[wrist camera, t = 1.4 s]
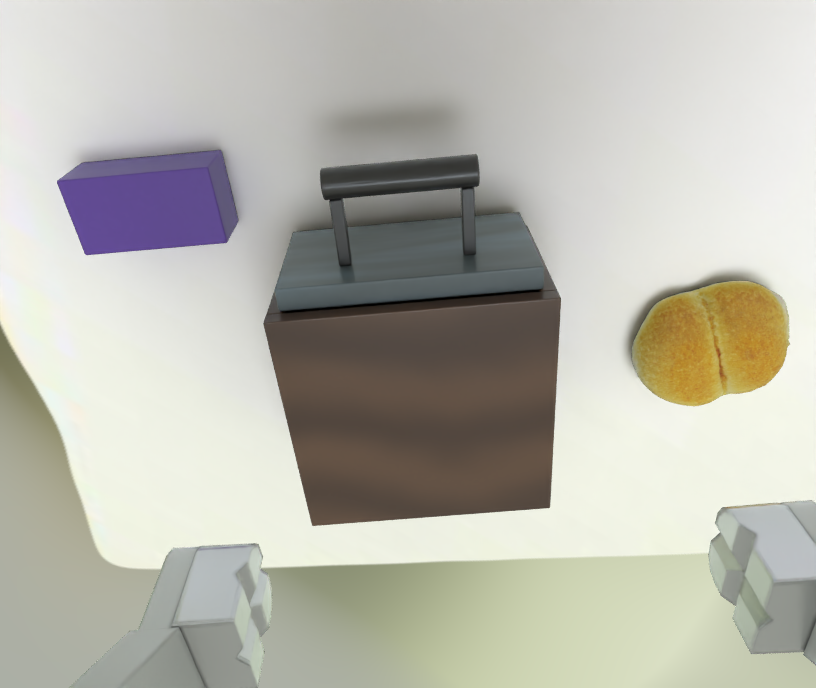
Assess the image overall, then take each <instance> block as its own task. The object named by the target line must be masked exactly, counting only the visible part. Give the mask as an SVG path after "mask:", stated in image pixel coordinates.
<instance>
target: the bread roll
mask: <svg viewBox="0 0 816 688" xmlns="http://www.w3.org/2000/svg"><path fill="white" fill-rule="evenodd" d="M788 339H789V315H788V311H787V306H786V303H785V301H784V299H783V298H782V297H781V296H780V295H779V294H777V293H775V292H773V291H770V290H769V289H767V288H765V287H764V286H762V285H759V284H756V283H753V282H749V281H727V282H721V283H716V284H712V285H709V286H707V287H702V288H699V289H697V290H694V291H690V292H683V293H679V294H676V295H673V296H670V297H668V298H665V299H663V300H661V301H659V302H658V303H656V304H655V305H654V306H653V308H652V309H651V310H650V311H649V313H648V315H647V317H646V318H645V320H644V322H643V323H642V325H641V327H640V329H639V331H638V333H637V336H636V338H635V340H634V343H633V347H632V361H633V365H634V368H635V370H636V372H637V375H638V377H639V378H640V380H641V381H642V382H643V384H644V385H645V386H646V387H647V388H648V389H649V390H650V391H651V392H652V393H654V394H655V395H657V396H658V397H660V398H662V399H664V400H666V401H669V402H672V403H676V404H681V405H687V406H699V405H704V404H707V403H710V402H712V401H714V400H716V399H717V398H719V397H720V396H723V395H726V394H739V393H745V392H751V391H753V390H755V389H757V388H760V387H762V386H765V385H766V384H767V383H768V382H769V381H771V380H772V379H773V378H774V376H775V375H776V374H777V373H778V372H779V370H780V369H781V367H782V366H783V363H784V360H785V357H786V351H787V347H788V346H789V344H790V343H789V340H788Z"/></svg>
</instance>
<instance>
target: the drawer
mask: <svg viewBox="0 0 816 688" xmlns="http://www.w3.org/2000/svg"><path fill="white" fill-rule="evenodd" d="M320 182H321V189H322V194H323V198H324V199H325V200H330V201H329V203H330V210H331V216H332V222H333V229H323V230H311V231H300V232H293V235H292V238H291V241H290V244H289V247H288V250H287V253H286V256H285V259H284V262H283V265H282V269H281V272H280V275H279V278H278V281H277V284H276V287H275V290H274V291H275V295H276V300H277V304H278V309H279V311H290V310H302V309H305V311H304V312H307V311H319V310H331V309H343V308H354V307H366V306H378V305H390V304H402V303H413V302H425V301H437V300H449V299H461V298H473V297H484V296H496V295H508V294H520V292H519V291H526V290H538V289H543V288H544V265H543V263H542V261H541V259H540V257H539V255H538V252H537V250H536V248H535V246H534V244H533V242H532V239H531V237H530V235H529V233H528V231H527V228H526V226H525V224H524V222H523V220H522V218H521V215H520V213H519V212H516V213H504V214H493V215H481V216H475V193H474V187H477V186H479V161H478V156H477V155H476V154H472V155H461V156H450V157H439V158H428V159H417V160H406V161H395V162H384V163H373V164H362V165H351V166H340V167H329V168H321V170H320ZM454 188H460V194H461V217H459V218H447V219H436V220H425V221H413V222H402V223H391V224H379V225H368V226H357V227H347V221H346V214H345V207H344V201H343V198H353V197H365V196H376V195H387V194H398V193H409V192H421V191H432V190H443V189H454Z"/></svg>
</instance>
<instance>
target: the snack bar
mask: <svg viewBox="0 0 816 688" xmlns="http://www.w3.org/2000/svg"><path fill="white" fill-rule="evenodd" d="M57 184H58V186H59V189H60V191H61V194H62V196H63V199H64V201H65V204H66V207H67V209H68V212H69V214H70V217H71V219H72V222H73V224H74V227H75V230H76V232H77V235H78V237H79V240H80V242H81V245H82V247H83V250H84V253H85V255H94V254H105V253H116V252H128V251H139V250H150V249H162V248H173V247H185V246H196V245H207V244H219V243H227V242H228V240H229V238H230V236H231V234H232V232H233V230H234V228H235V227H236V225H237V223H238V217H237V213H236V209H235V205H234V201H233V196H232V192H231V188H230V184H229V180H228V176H227V172H226V167H225V163H224V159H223V155H222V152H221V151H220V150H216V151H206V152H195V153H184V154H173V155H162V156H151V157H140V158H129V159H118V160H108V161H97V162H86V163H81V164H79V165H78V166H77V167H75V168H74V169H73V170H71V171H70V172H69V173H67V174H66V175H65V176H63V177H62V178H60V179H59V180H58V181H57Z"/></svg>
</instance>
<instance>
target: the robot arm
mask: <svg viewBox="0 0 816 688" xmlns="http://www.w3.org/2000/svg"><path fill="white" fill-rule="evenodd" d="M715 524H716V525H717V527H718V529H719V531H720V533H719V534H718V535H717V536H716V537H715V538H714V539H712V540H711V543H710V549H709V554H708V555H709V563H710V571H711V574H712V577H713V580H714V583H715V585H716V587H717V588H718V591H719V593H720V595H721V596H722V597H724V598H725V599H726V600H728V601H729V602H731V603H732V604H733V605H735V606H736V607H735V611H734V615H733V620H734V622H735V624H736V626H737V628H738V630H739V632H740V634H741V635H742V638H743V639H744V641H745V643H746V645H747V647H748V649H749V651H750V653H751V654H766V653H789V652H804V654H803V655H804V656H805V657H807V658H808V659H809V660H810V661H811V662H813V663H814V664H815V665H816V503H815V502H813V501H812V500H808V501H795V502H783V503H767V504H756V505H744V506H733V507H722V508H721V510H720V511H719V512H718V514H717V518H716V522H715ZM262 559H263V556H262V553H261V550H260V547H259V544H255V543H254V544H234V545H213V546H200V547H182V548H173V549H172V550H171V551H170V552H169V553H168V555H167V556H166V558H165V561H164V563H163V566H162V569H161V571H160V574H159V577H158V579H157V582H156V584H155V587H154V590H153V592H152V595H151V598H150V600H149V603H148V605H147V608H146V611H145V613H144V616H143V619H142V621H141V624H140V626H139V629H138V630H134V631H129V632H128V633H127V634H126V635H125V636H124V637H123V638H122V639H120V640H119V641H118V642H117V643H116V644H115V645H114V646H113V647H112V648H111V649H110V650H109V651H108V652H107V653H105V654H104V655H103V656H102V657H101V658H100V659H99V660H98V661H97V662H96V663H95V664H94V665H93V666H92V667H91V668H90V669H88V670H87V671H86V672H85V673H84V674H83V675H82V676H81V677H80V678H79V679H78V680H77V681H76V682H75V683H73V684H72V685H71V686H70V687H69V688H258V684H259V678H260V674H261V668H262V662H263V658H264V652H265V651H264V648H263V645H262V641H261V638H260V637H261V636H262V635H263V634H264V633H265V632H266V631H267V630H268V628H269V625H270V619H271V613H272V590H271V583H270V579H269V576H268V573H266V572H265V571H263V570H262V569H261V564H262Z"/></svg>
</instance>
